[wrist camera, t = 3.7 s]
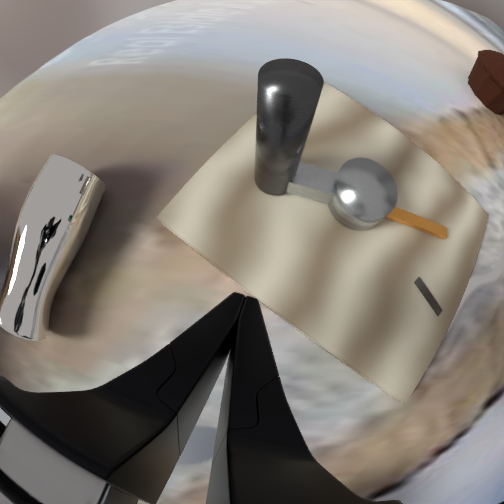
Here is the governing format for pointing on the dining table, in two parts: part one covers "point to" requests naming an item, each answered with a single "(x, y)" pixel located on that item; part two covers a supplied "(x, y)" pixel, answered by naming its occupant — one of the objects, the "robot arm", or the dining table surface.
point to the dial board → (340, 245)
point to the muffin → (489, 80)
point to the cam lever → (311, 177)
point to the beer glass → (46, 244)
